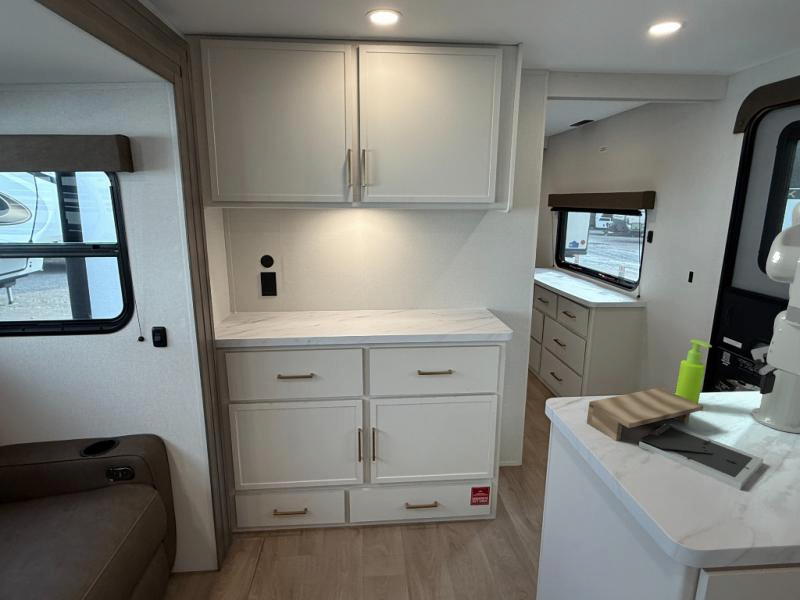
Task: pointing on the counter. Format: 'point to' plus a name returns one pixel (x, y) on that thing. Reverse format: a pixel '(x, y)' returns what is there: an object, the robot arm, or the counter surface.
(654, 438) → the picture frame
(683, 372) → the soap dispenser
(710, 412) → the counter surface
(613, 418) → the walnut shelf
